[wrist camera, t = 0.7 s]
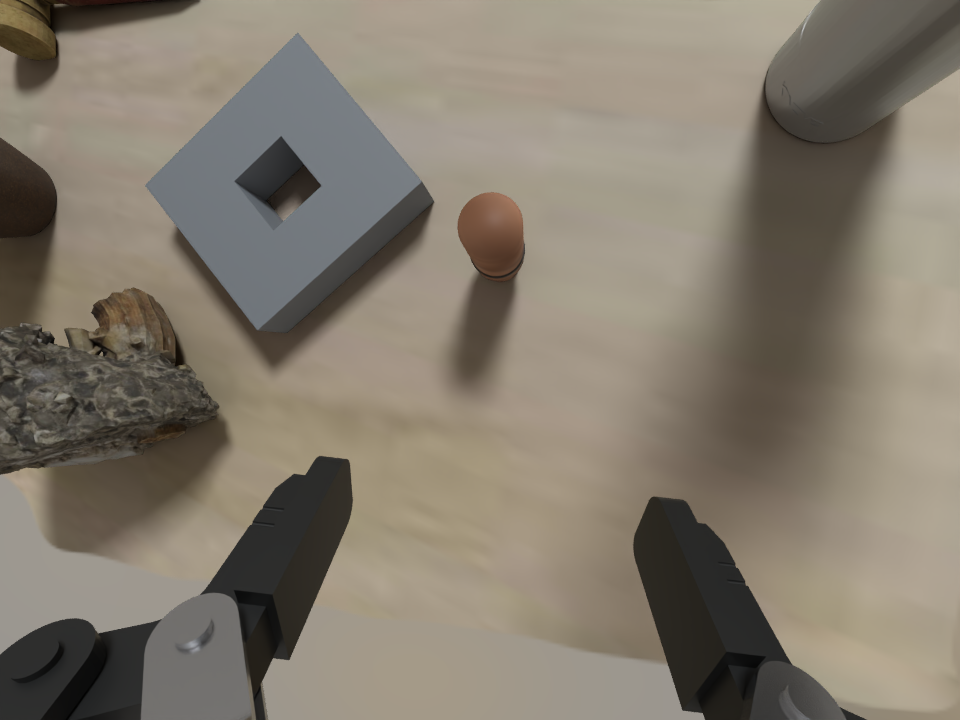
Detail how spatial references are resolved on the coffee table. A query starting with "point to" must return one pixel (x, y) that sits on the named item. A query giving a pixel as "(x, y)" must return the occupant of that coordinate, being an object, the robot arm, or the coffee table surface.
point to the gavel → (35, 25)
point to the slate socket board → (266, 167)
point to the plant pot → (23, 194)
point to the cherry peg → (493, 235)
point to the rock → (95, 388)
